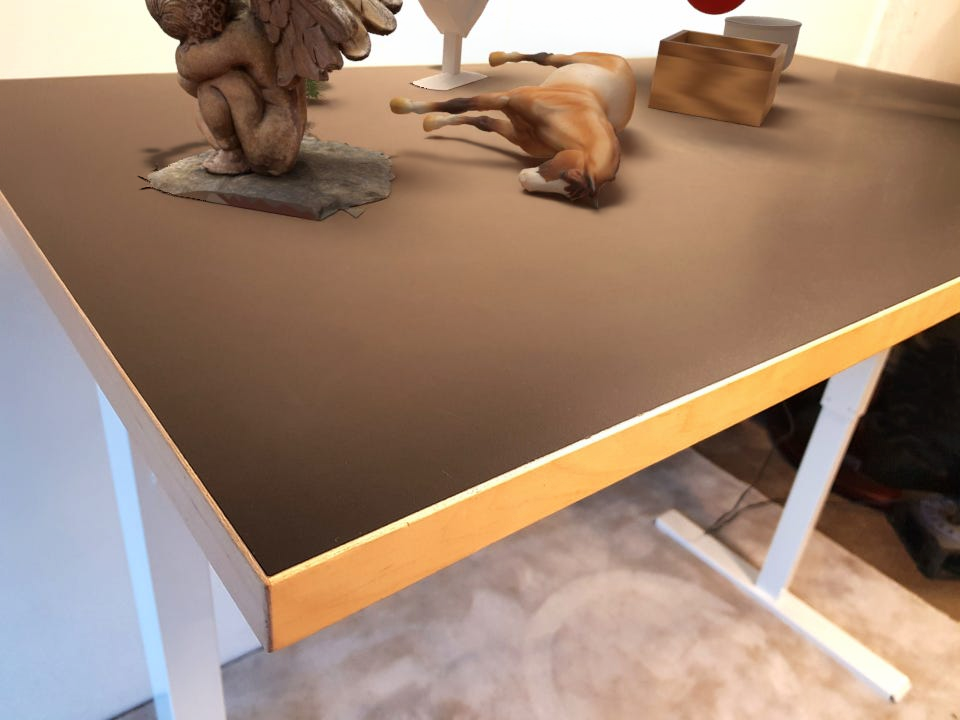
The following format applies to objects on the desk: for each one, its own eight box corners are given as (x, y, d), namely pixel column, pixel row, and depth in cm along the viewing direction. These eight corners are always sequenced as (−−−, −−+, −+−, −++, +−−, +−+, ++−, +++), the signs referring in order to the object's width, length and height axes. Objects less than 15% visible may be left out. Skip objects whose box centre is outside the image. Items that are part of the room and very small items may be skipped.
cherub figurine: (243, 129, 72) (228, -99, 62) (432, 160, 68) (444, -76, 59) (115, 184, 57) (70, -104, 48) (348, 228, 53) (347, -73, 44)
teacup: (776, 86, 114) (791, 26, 109) (703, 72, 118) (716, 14, 114) (799, 75, 124) (814, 20, 120) (732, 63, 129) (744, 9, 125)
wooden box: (771, 107, 100) (788, 44, 97) (758, 127, 90) (776, 57, 86) (671, 90, 105) (683, 29, 101) (647, 107, 94) (659, 40, 90)
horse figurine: (369, 180, 68) (599, 212, 60) (360, 85, 64) (605, 107, 56) (516, 105, 92) (694, 121, 84) (516, 33, 88) (703, 43, 80)
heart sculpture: (437, 93, 91) (447, -86, 82) (400, 85, 93) (406, -90, 84) (495, 74, 104) (509, -83, 94) (461, 68, 105) (472, -87, 96)
